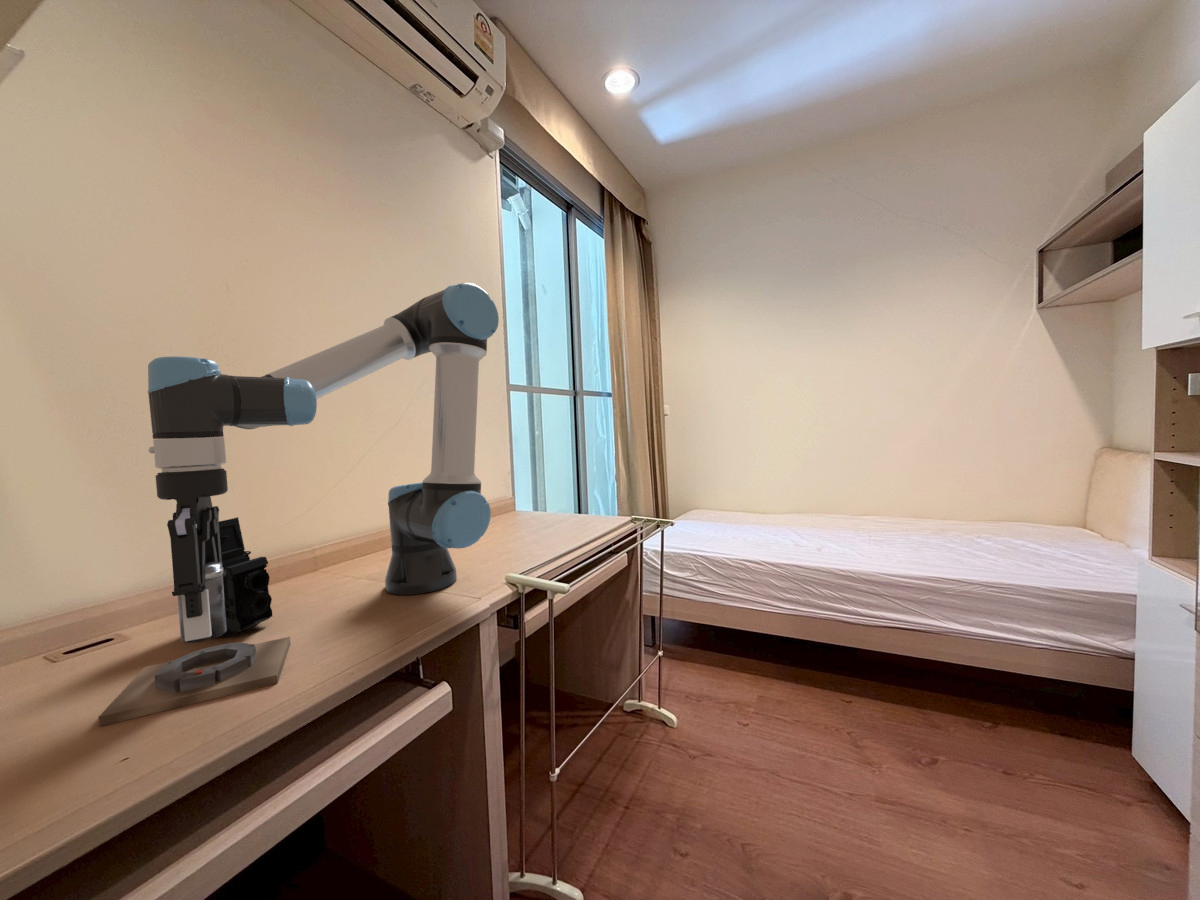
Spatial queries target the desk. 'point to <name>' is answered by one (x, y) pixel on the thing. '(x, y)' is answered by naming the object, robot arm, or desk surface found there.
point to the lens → (210, 602)
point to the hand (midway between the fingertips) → (204, 630)
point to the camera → (242, 581)
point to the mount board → (166, 701)
